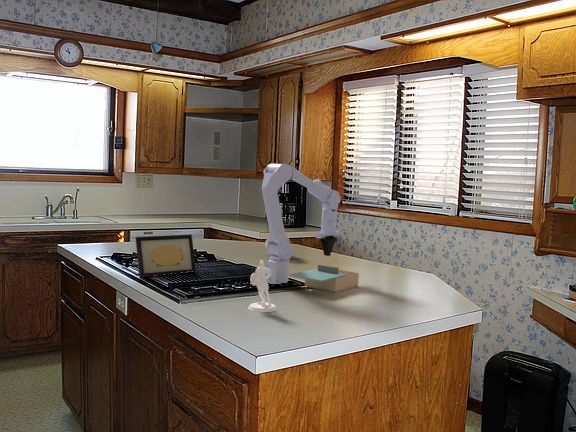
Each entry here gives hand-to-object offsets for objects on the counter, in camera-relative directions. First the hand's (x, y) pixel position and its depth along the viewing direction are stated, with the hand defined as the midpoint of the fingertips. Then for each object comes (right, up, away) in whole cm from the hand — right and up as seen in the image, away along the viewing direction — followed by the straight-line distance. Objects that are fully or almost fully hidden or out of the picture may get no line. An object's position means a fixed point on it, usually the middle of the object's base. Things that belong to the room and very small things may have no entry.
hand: (327, 255), depth 225 cm
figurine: (-23, -13, -50) cm, 56 cm away
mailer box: (+1, -11, -13) cm, 16 cm away
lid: (-5, -6, -21) cm, 22 cm away
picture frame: (-63, -7, -3) cm, 63 cm away
